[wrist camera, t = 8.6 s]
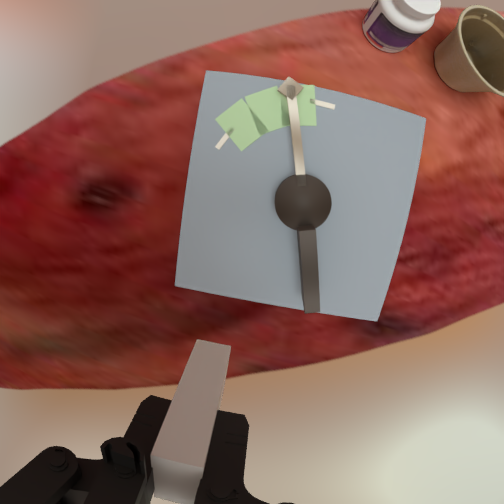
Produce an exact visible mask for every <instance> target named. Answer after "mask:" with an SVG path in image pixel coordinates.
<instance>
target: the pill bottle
mask: <svg viewBox="0 0 504 504" xmlns="http://www.w3.org/2000/svg"><path fill="white" fill-rule="evenodd" d="M440 6H441V3H440V0H375V1H374V3H373V4H372V6H371V8H370V9H369V11H368V12H367V14H366V16H365V17H364V20H363V31H364V34H365V36H366V38H367V39H368V40H369V42H370V43H371V44H372V45H374V46H375V47H376V48H378V49H380V50H382V51H385V52H390V53H395V52H400V51H402V50H404V49H405V48H406V47H408V46H409V45H410V44H411V43H412V42H414V41H415V40H416V39H417V38H418V37H420V36H421V35H422V34H423V33H425V32H426V31H427V30H429V29H430V28H431V26H432V25H433V23H434V19H435V14H436V13H437V12H438V11H439V9H440Z"/></svg>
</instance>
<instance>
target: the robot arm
mask: <svg viewBox="0 0 504 504" xmlns="http://www.w3.org/2000/svg"><path fill="white" fill-rule="evenodd" d="M230 350H231V346H228V345H223V344H218V343H213V342H208V341H203V340H198V339H197V341H196V343H195V346H194V348H193V350H192V353H191V355H190V358H189V360H188V363H187V365H186V367H185V370H184V372H183V375H182V377H181V380H180V382H179V385H178V387H177V390H176V392H175V395H174V397H173V399H172V400H168V399H164V398H160V397H156V396H153V395H150V396H149V397H148V398H146V399H145V400H143V401H142V402H141V404H140V406H139V408H138V409H137V411H136V414H135V415H134V418H133V419H132V422H131V423H130V426H129V427H128V429H127V431H126V433H125V435H124V437H116V438H111V439H109V440H107V441H105V442H104V443H103V444H102V445H101V446H100V448H101V452H102V455H103V459H100V460H91V459H83V458H76V456H75V454H74V453H72V451H70V450H69V449H67V448H65V447H60V446H53V447H49V448H47V449H45V450H43V451H42V452H41V453H40V454H39V455H37V456H36V457H35V458H34V459H33V460H32V461H30V462H29V463H28V464H27V465H26V466H25V467H23V468H22V469H21V470H20V471H19V472H17V473H16V474H15V475H14V476H13V477H12V478H10V479H9V480H8V481H7V482H6V483H4V484H3V485H2V486H1V487H0V504H150V501H151V498H152V495H153V493H154V497H157V498H160V499H164V500H168V501H172V502H176V503H180V504H269V503H266V502H264V501H261V500H259V499H257V498H255V497H253V496H252V495H251V494H250V493H248V491H247V490H246V488H245V486H244V479H243V477H244V468H245V459H246V449H247V441H248V430H249V424H248V422H247V419H246V417H245V415H243V414H236V413H231V412H225V411H220V410H219V409H220V405H221V400H222V396H223V391H224V385H225V379H226V373H227V368H228V362H229V356H230ZM280 504H294V503H280Z"/></svg>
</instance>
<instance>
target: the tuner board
mask: <svg viewBox="0 0 504 504" xmlns="http://www.w3.org/2000/svg"><path fill="white" fill-rule="evenodd" d="M283 83H284V80H278V79H272V78H266V77H259V76H252V75H244V74H236V73H227V72H218V71H206V74H205V79H204V84H203V89H202V94H201V100H200V105H199V110H198V116H197V121H196V127H195V133H194V139H193V145H192V151H191V157H190V164H189V171H188V177H187V184H186V192H185V199H184V207H183V214H182V222H181V231H180V240H179V249H178V258H177V268H176V279H175V286H178V287H182V288H187V289H192V290H197V291H202V292H207V293H212V294H217V295H222V296H227V297H233V298H238V299H243V300H249V301H254V302H259V303H265V304H271V305H276V306H282V307H288V308H294V309H300V310H304V306H303V301H302V294H301V279H300V265H299V252H298V239H297V230H293V229H291V228H289V227H287V226H286V225H285V224H284V223H283V222H282V221H281V220H280V219H279V217H278V215H277V213H276V210H275V194H276V191H277V188H278V187H279V185H280V184H281V182H282V181H283V180H285V179H286V178H288V177H289V176H292V175H295V174H296V173H295V163H294V154H293V145H292V136H291V128H290V119H289V111H288V103H287V98H286V97H285V96H284V95H282V94H281V93H280V92H278V91H277V89H278V88H279V87H280V86H281V85H282V84H283ZM299 84H300V83H299ZM300 85H301V86H302V87H304V88H303V89H302V91H301V92H300V93H299V94H298V95H297V96H296V98H297V105H298V113H299V121H300V129H301V138H302V147H303V156H304V165H305V174H308V175H311V176H314V177H316V178H318V179H319V180H321V181H322V182H323V183H324V184H325V185H326V187H327V188H328V190H329V192H330V195H331V200H332V206H331V211H330V214H329V216H328V218H327V219H326V221H325V222H324V223H323V224H322V225H320V226H319V227H317V228H315V229H316V237H317V253H318V271H319V292H320V312H318V313H324V314H331V315H337V316H344V317H350V318H357V319H364V320H371V321H377V320H378V317H379V314H380V311H381V309H382V306H383V303H384V300H385V296H386V293H387V290H388V287H389V284H390V281H391V277H392V274H393V271H394V267H395V264H396V260H397V257H398V253H399V250H400V246H401V242H402V238H403V235H404V231H405V227H406V223H407V218H408V214H409V210H410V206H411V201H412V197H413V192H414V187H415V182H416V177H417V172H418V167H419V161H420V156H421V150H422V143H423V137H424V130H425V123H426V118H424V117H421V116H418V115H415V114H412V113H409V112H406V111H403V110H400V109H397V108H394V107H391V106H388V105H384V104H381V103H378V102H374V101H371V100H367V99H364V98H360V97H356V96H353V95H349V94H345V93H341V92H337V91H333V90H328V89H324V88H319V87H315V86H314V85H305V84H300Z"/></svg>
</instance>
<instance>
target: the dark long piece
mask: <svg viewBox="0 0 504 504" xmlns="http://www.w3.org/2000/svg"><path fill="white" fill-rule="evenodd" d="M303 88H304V87H302V86H301V85H300V84H299V83H297V82H296V81H295V80H293V79H292V78H290V77H288V78H287V79H286V80H285V81H284V83H283V84H282V85H281V86H280V87H279V88H278V89H277V91H278V92H280V93H281V94H282V95H284V96H285V97H286V98H287V103H288V111H289V119H290V128H291V136H292V145H293V154H294V163H295V173H296V174H295V175H292V176H289V177H288V178H286V179H285V180H283V181H282V182H281V184H280V185H279V187H278V188H277V191H276V194H275V210H276V213H277V215H278V217H279V219H280V220H281V221H282V222H283V223H284V224H285V225H286V226H287V227H289V228H291V229H293V230H297V239H298V252H299V265H300V279H301V294H302V301H303V306H304V312H305V313H315V312H320V292H319V271H318V253H317V237H316V229H315V228H317V227H319V226H320V225H322V224H323V223H324V222H325V221H326V219H327V218H328V216H329V214H330V211H331V206H332V200H331V195H330V192H329V190H328V188H327V187H326V185H325V184H324V183H323V182H322V181H321V180H319V179H318V178H316V177H314V176H311V175H308V174H305V165H304V156H303V147H302V138H301V129H300V121H299V113H298V105H297V98H296V96H297V95H298V94H299V93H300V92H301V91H302V89H303Z"/></svg>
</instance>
